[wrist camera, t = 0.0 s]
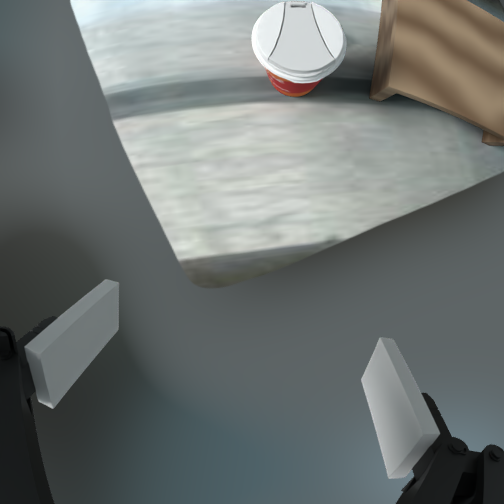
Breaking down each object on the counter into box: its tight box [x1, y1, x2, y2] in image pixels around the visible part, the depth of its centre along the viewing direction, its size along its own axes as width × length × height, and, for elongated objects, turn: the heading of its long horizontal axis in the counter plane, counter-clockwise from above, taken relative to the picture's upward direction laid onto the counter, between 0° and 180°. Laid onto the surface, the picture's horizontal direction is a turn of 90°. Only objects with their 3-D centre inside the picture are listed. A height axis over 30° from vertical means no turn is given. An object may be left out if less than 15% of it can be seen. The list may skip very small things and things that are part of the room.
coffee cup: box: [252, 1, 347, 97], centre depth 29 cm, size 8×8×15 cm
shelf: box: [369, 0, 504, 146], centre depth 29 cm, size 17×20×8 cm
